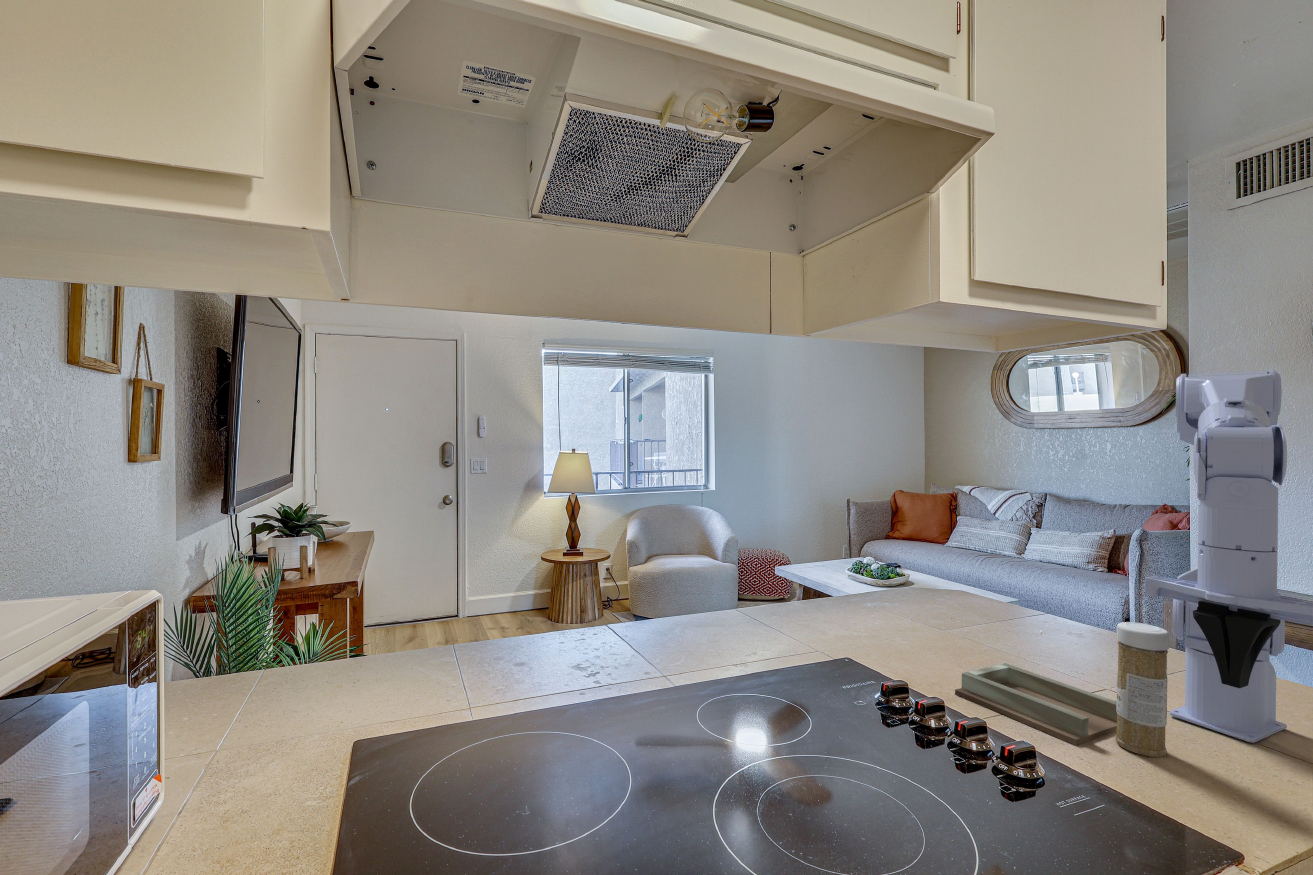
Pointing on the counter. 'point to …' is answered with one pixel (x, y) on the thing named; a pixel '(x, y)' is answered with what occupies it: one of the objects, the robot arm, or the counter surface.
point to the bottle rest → (1041, 702)
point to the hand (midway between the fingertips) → (1234, 684)
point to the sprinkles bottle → (1142, 688)
